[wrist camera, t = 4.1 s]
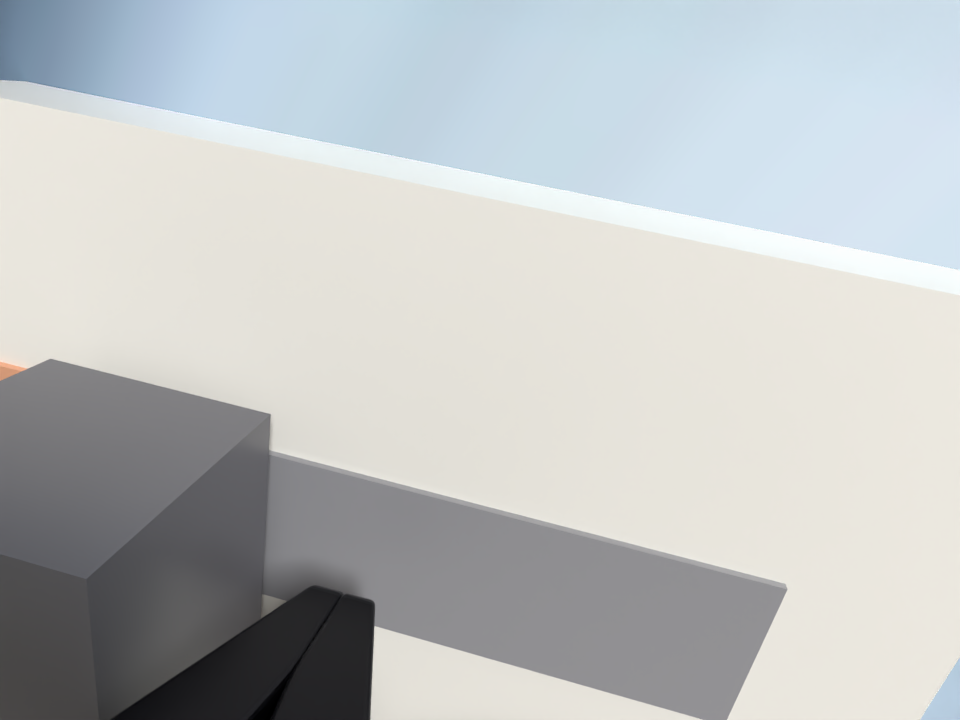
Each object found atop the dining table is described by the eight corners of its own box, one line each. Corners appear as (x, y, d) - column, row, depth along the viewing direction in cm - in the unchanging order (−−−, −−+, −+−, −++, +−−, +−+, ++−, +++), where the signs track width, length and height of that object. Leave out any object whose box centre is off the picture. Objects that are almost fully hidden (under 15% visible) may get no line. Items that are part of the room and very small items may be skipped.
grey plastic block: (270, 413, 8) (86, 579, 5) (258, 652, 9) (112, 878, 7) (51, 358, 8) (-236, 484, 5) (74, 598, 10) (-138, 792, 7)
